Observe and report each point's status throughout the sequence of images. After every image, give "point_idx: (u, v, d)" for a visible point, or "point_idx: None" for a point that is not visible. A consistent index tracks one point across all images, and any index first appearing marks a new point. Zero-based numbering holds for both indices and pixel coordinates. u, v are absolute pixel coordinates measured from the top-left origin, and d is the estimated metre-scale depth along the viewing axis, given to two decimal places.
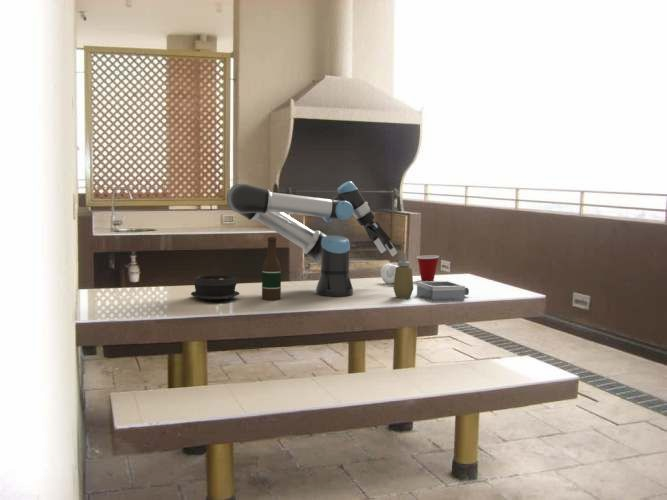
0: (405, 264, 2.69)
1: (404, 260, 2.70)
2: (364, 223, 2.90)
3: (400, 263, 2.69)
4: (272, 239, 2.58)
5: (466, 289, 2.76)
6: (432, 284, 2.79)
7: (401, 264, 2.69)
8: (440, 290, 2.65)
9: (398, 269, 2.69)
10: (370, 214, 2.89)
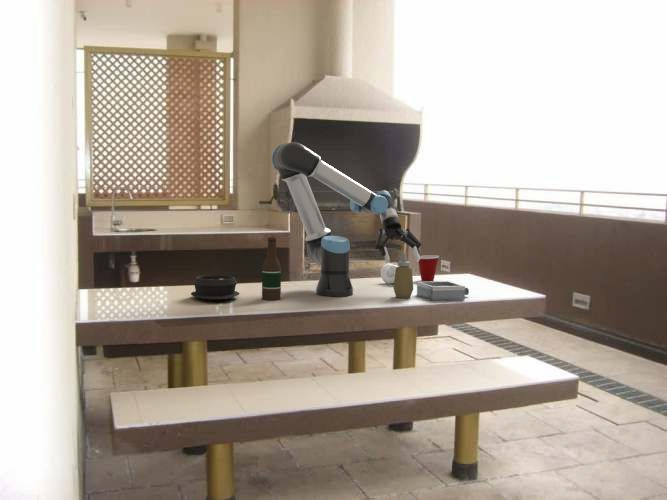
0: (405, 264, 2.69)
1: (404, 260, 2.70)
2: (399, 223, 2.88)
3: (400, 263, 2.69)
4: (272, 239, 2.58)
5: (466, 289, 2.76)
6: (432, 284, 2.79)
7: (401, 264, 2.69)
8: (440, 290, 2.65)
9: (398, 269, 2.69)
10: None
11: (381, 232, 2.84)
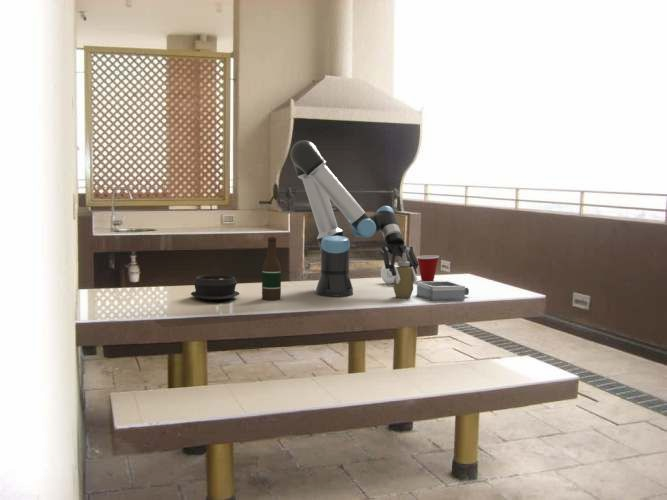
0: (405, 264, 2.69)
1: (404, 260, 2.70)
2: (402, 239, 2.79)
3: (400, 263, 2.69)
4: (272, 239, 2.58)
5: (466, 289, 2.76)
6: (432, 284, 2.79)
7: (401, 264, 2.69)
8: (440, 290, 2.65)
9: (398, 269, 2.69)
10: None
11: (385, 250, 2.75)
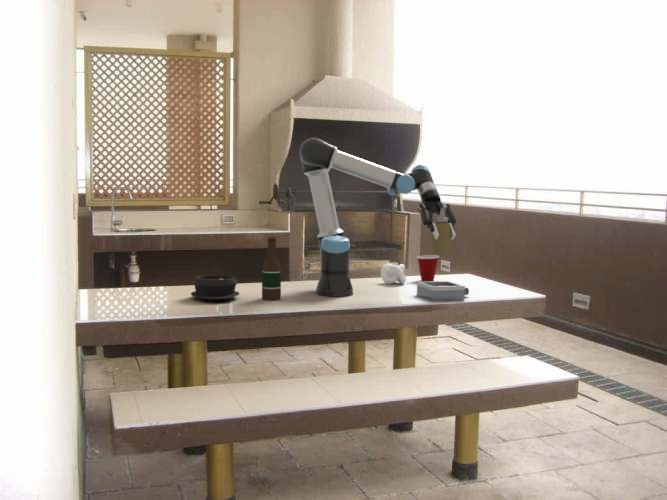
0: (443, 220, 2.69)
1: (442, 216, 2.70)
2: (439, 196, 2.79)
3: (438, 219, 2.69)
4: (272, 239, 2.58)
5: (466, 289, 2.76)
6: (432, 284, 2.79)
7: (439, 220, 2.69)
8: (440, 290, 2.65)
9: (436, 225, 2.69)
10: None
11: (423, 207, 2.75)
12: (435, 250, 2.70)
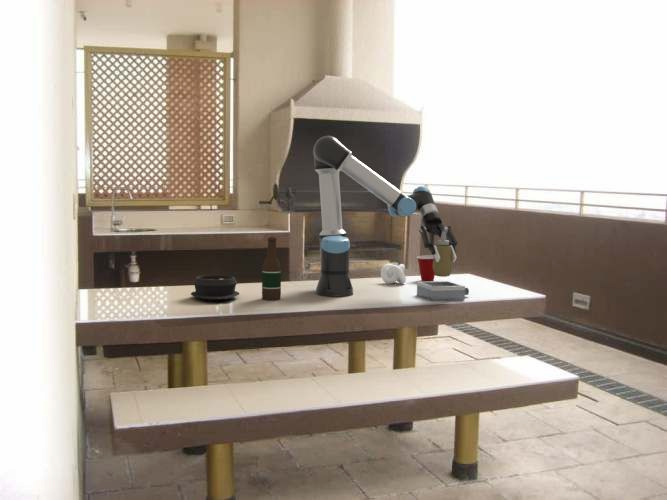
0: (445, 243, 2.69)
1: (443, 239, 2.70)
2: (440, 218, 2.80)
3: (440, 242, 2.70)
4: (272, 239, 2.58)
5: (466, 289, 2.76)
6: (432, 284, 2.79)
7: (441, 243, 2.70)
8: (440, 290, 2.65)
9: (438, 248, 2.70)
10: None
11: (424, 229, 2.76)
12: (436, 273, 2.71)
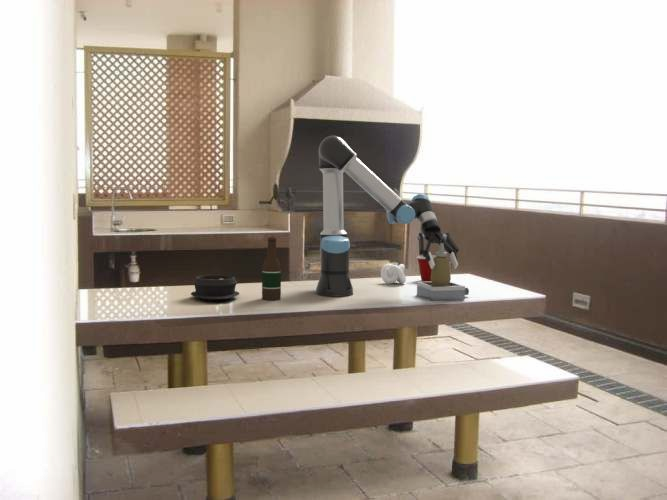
0: (443, 254, 2.70)
1: (442, 250, 2.71)
2: (439, 226, 2.80)
3: (438, 253, 2.70)
4: (272, 239, 2.58)
5: (466, 289, 2.76)
6: None
7: (439, 254, 2.70)
8: (440, 290, 2.65)
9: (436, 259, 2.70)
10: None
11: (421, 236, 2.76)
12: (434, 284, 2.71)
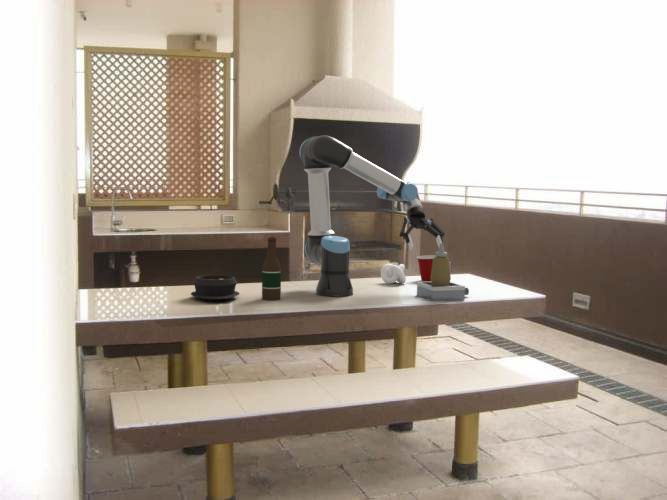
0: (443, 254, 2.70)
1: (442, 250, 2.71)
2: None
3: (438, 253, 2.71)
4: (272, 239, 2.58)
5: (466, 289, 2.76)
6: None
7: (439, 254, 2.70)
8: (440, 290, 2.65)
9: (436, 259, 2.70)
10: None
11: (405, 221, 2.90)
12: (434, 284, 2.71)
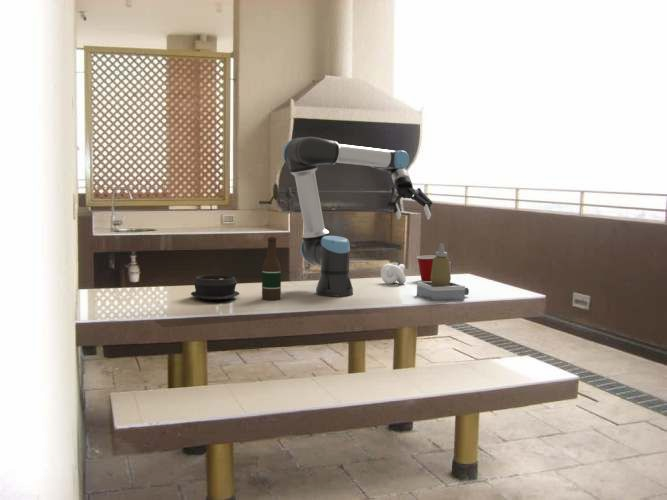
0: (443, 254, 2.70)
1: (442, 250, 2.71)
2: (411, 182, 2.95)
3: (438, 253, 2.71)
4: (272, 239, 2.58)
5: (466, 289, 2.76)
6: None
7: (439, 254, 2.70)
8: (440, 290, 2.65)
9: (436, 259, 2.70)
10: None
11: (393, 190, 2.91)
12: (434, 284, 2.71)
